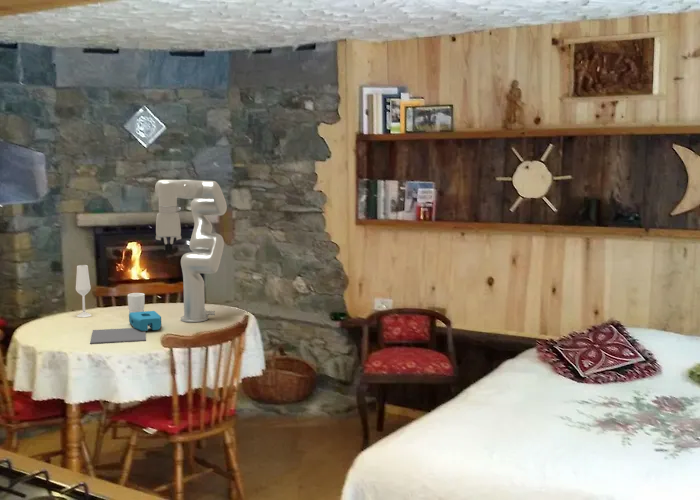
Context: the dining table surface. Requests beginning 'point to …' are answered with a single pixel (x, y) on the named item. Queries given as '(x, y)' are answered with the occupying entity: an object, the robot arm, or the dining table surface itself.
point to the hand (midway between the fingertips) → (168, 253)
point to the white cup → (136, 302)
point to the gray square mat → (117, 335)
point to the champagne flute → (83, 286)
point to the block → (145, 320)
